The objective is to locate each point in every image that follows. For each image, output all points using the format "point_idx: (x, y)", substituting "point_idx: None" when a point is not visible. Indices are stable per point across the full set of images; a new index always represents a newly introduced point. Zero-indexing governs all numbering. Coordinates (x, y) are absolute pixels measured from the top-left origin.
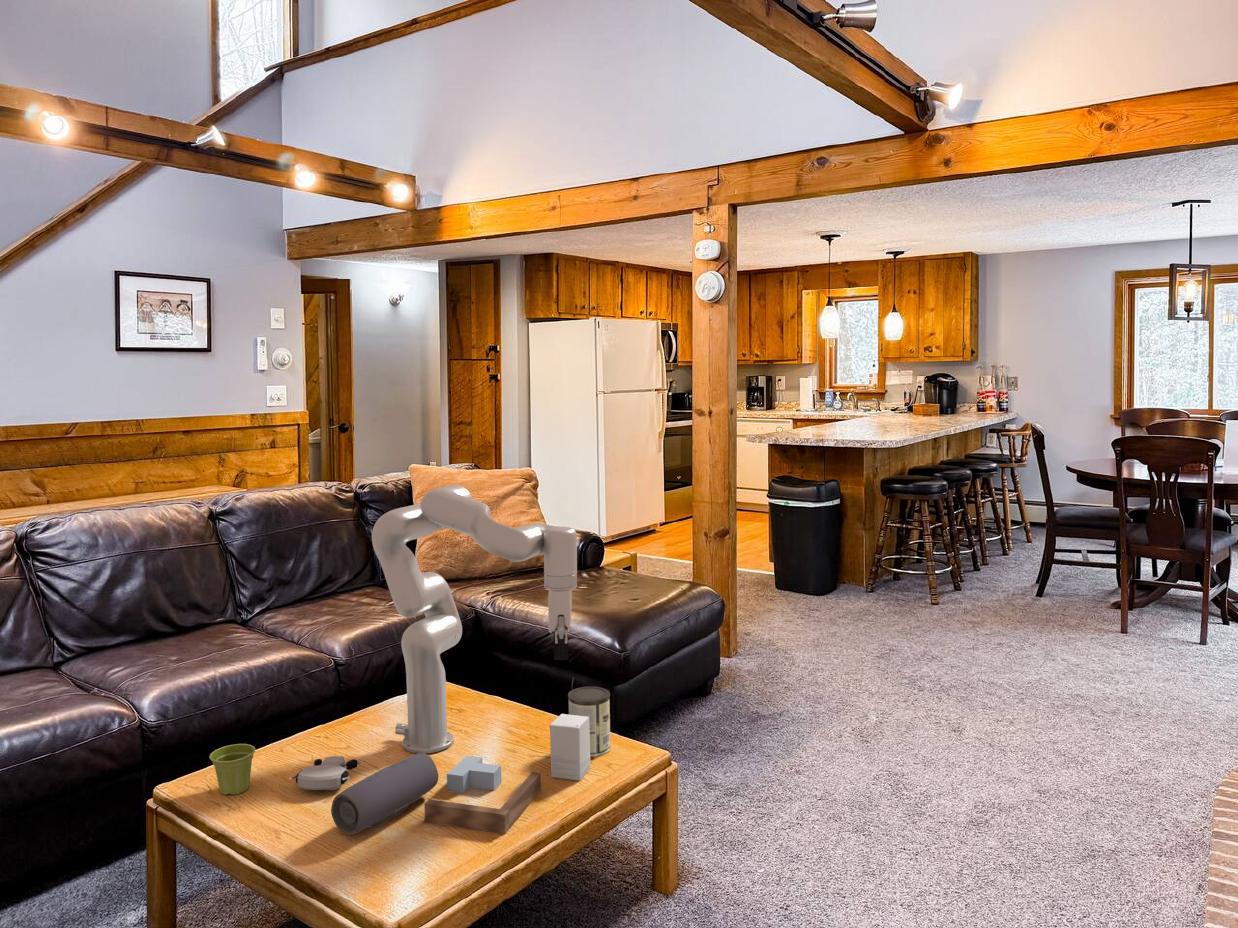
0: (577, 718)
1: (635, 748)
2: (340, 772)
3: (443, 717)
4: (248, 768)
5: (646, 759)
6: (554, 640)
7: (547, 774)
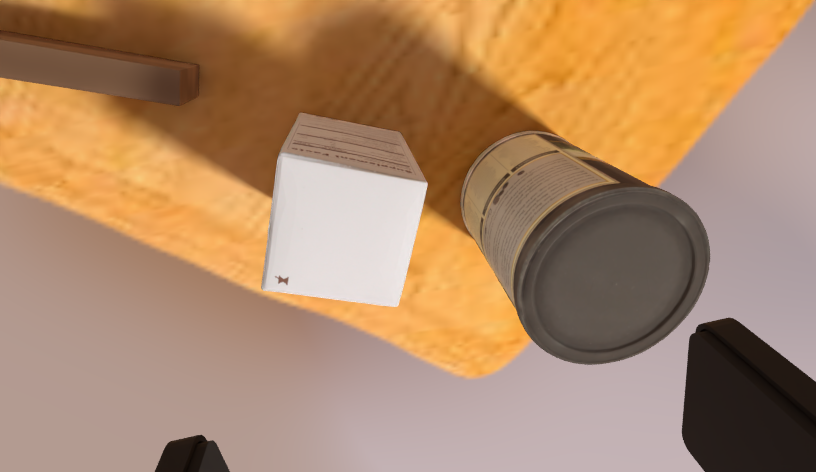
0: (366, 266)
1: None
2: None
3: None
4: None
5: (451, 353)
6: (752, 384)
7: (318, 94)
